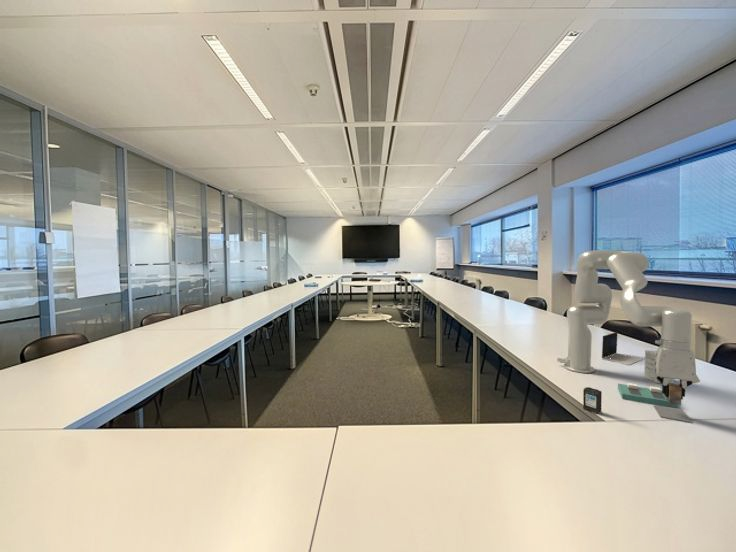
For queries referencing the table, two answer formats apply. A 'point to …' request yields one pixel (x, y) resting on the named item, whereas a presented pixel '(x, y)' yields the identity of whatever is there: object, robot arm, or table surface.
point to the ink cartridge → (592, 400)
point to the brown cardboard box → (674, 394)
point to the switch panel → (644, 395)
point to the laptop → (615, 351)
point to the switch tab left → (632, 386)
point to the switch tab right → (655, 389)
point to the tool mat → (672, 413)
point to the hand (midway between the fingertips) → (673, 396)
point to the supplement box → (652, 366)
